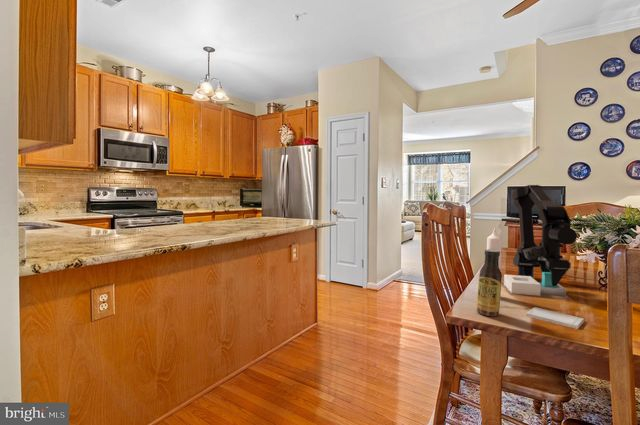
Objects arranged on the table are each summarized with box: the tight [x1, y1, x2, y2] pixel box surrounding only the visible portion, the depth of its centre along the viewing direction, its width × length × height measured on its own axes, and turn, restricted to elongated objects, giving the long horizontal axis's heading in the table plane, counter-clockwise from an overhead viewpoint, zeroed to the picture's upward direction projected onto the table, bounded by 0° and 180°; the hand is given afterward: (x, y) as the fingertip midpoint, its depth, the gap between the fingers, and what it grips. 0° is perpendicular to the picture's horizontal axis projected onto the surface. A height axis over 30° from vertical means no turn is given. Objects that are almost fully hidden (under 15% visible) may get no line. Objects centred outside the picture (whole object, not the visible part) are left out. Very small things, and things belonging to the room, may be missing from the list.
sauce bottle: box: [476, 248, 503, 317], centre depth 99 cm, size 7×6×20 cm
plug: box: [541, 272, 559, 287], centre depth 118 cm, size 3×4×7 cm
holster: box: [537, 281, 567, 296], centre depth 118 cm, size 7×8×2 cm
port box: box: [503, 274, 541, 296], centre depth 121 cm, size 12×9×4 cm
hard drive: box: [525, 306, 585, 330], centre depth 95 cm, size 2×8×12 cm
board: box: [501, 282, 573, 301], centre depth 120 cm, size 16×18×1 cm
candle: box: [486, 228, 503, 272], centre depth 112 cm, size 7×7×25 cm
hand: (549, 282), depth 118 cm, fingers open, 9 cm apart
